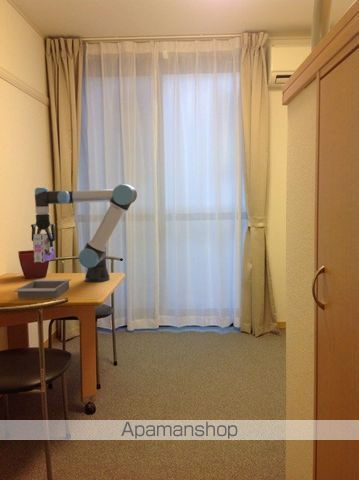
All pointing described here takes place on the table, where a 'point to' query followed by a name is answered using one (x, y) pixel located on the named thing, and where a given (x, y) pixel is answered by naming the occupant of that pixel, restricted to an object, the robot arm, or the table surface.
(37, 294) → the grey rectangular frame
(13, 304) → the table surface
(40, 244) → the candy box
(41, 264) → the plant pot
